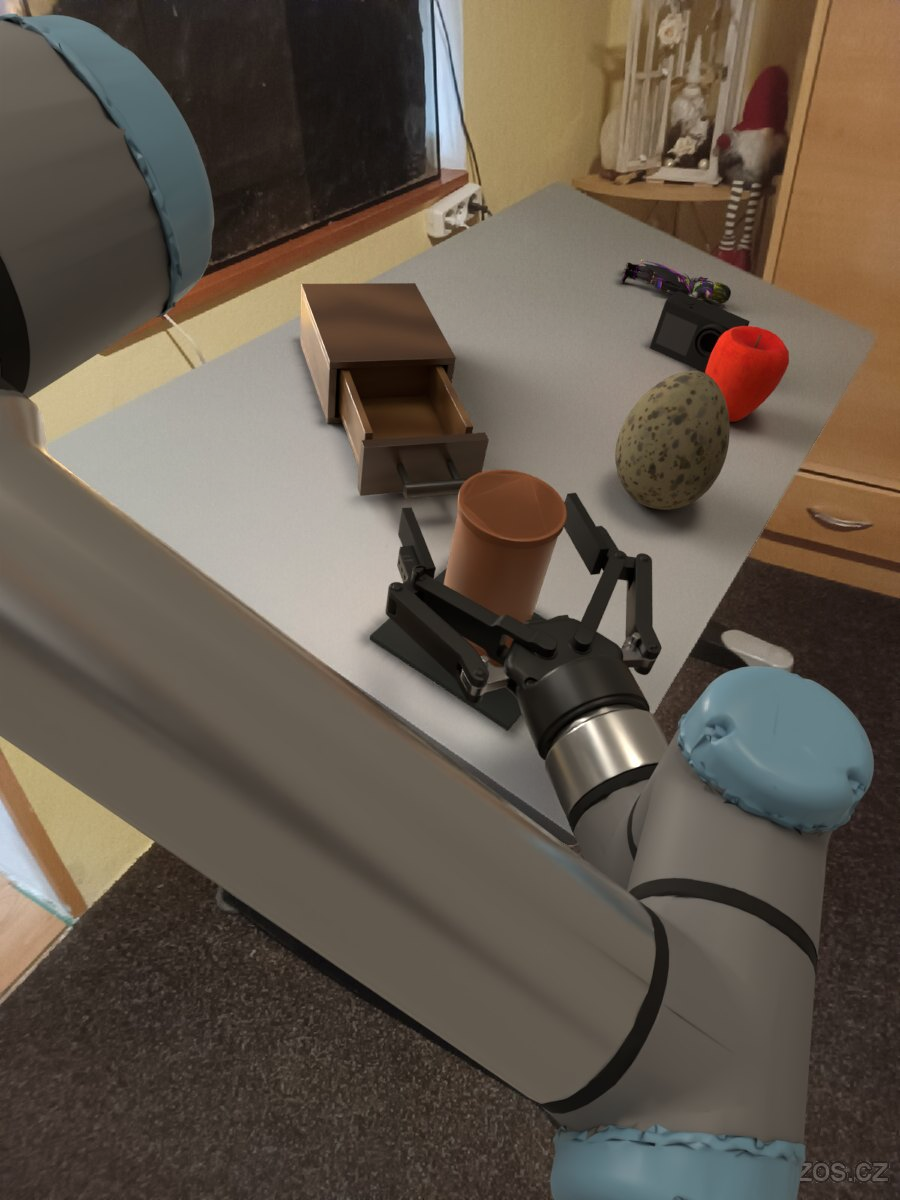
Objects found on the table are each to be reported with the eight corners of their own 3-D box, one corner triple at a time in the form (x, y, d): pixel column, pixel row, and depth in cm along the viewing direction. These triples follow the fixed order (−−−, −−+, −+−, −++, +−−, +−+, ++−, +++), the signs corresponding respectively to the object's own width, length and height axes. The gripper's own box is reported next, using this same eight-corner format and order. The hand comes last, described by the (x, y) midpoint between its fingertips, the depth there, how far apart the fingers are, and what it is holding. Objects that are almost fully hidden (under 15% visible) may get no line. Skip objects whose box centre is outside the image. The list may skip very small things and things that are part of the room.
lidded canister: (425, 664, 68) (451, 528, 57) (439, 596, 73) (465, 460, 63) (520, 683, 68) (564, 551, 57) (527, 613, 73) (569, 481, 63)
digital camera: (644, 351, 111) (661, 302, 106) (660, 337, 114) (677, 289, 109) (714, 383, 108) (735, 334, 102) (729, 368, 111) (750, 320, 106)
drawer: (492, 513, 82) (503, 466, 78) (369, 524, 78) (374, 476, 74) (436, 399, 94) (443, 354, 90) (328, 405, 90) (330, 357, 86)
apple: (758, 444, 99) (798, 363, 91) (687, 423, 100) (720, 342, 92) (759, 406, 105) (797, 328, 97) (692, 387, 106) (724, 308, 98)
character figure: (615, 294, 122) (723, 320, 120) (622, 269, 120) (732, 295, 117) (626, 270, 129) (729, 294, 126) (632, 246, 126) (737, 270, 123)
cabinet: (446, 417, 94) (456, 357, 88) (327, 424, 89) (329, 362, 84) (408, 340, 104) (415, 282, 98) (300, 343, 100) (301, 283, 94)
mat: (369, 639, 70) (369, 635, 69) (451, 567, 77) (452, 562, 77) (507, 731, 65) (508, 727, 65) (579, 644, 73) (581, 640, 72)
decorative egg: (655, 458, 94) (702, 338, 83) (720, 517, 88) (780, 396, 77) (581, 480, 89) (621, 355, 78) (645, 543, 83) (698, 418, 72)
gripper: (397, 807, 50) (328, 564, 64) (742, 738, 58) (616, 533, 71) (410, 738, 45) (332, 488, 58) (790, 671, 52) (643, 463, 66)
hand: (488, 512), depth 65 cm, fingers open, 13 cm apart
